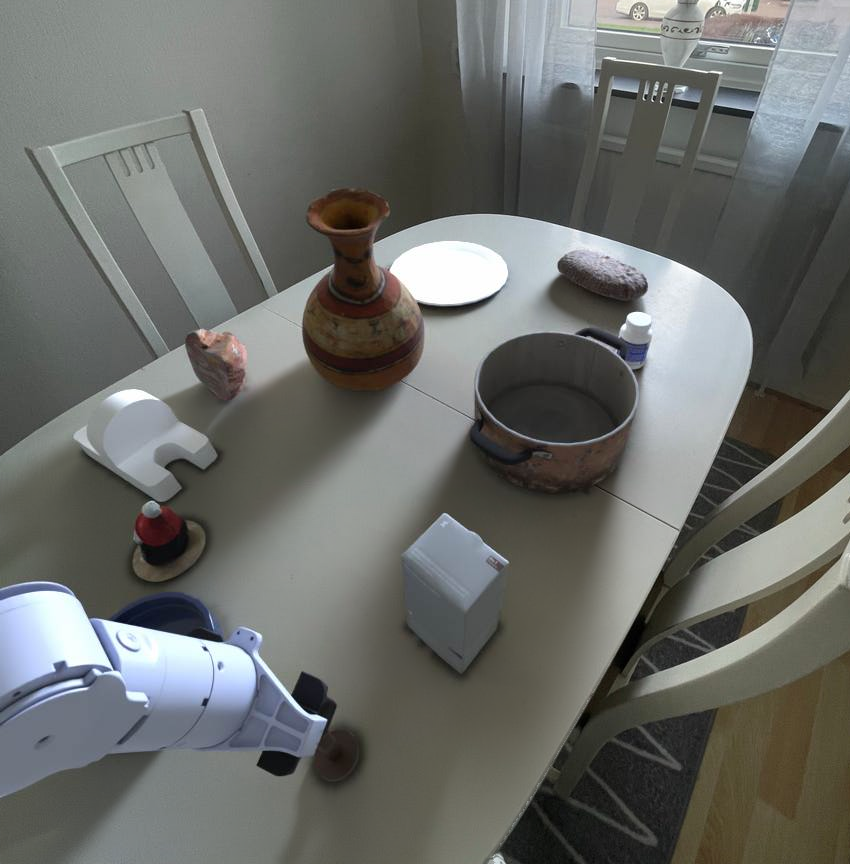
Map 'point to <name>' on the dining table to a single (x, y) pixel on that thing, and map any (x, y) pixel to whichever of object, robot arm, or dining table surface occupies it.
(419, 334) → the ceramic pitcher
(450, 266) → the plate
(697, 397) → the dining table surface
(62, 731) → the robot arm
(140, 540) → the figurine
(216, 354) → the stone
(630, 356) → the pill bottle
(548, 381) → the saucepan
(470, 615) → the cosmetic box
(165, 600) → the bowl
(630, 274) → the decorative stone
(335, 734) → the brown plunger
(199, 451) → the tape dispenser
